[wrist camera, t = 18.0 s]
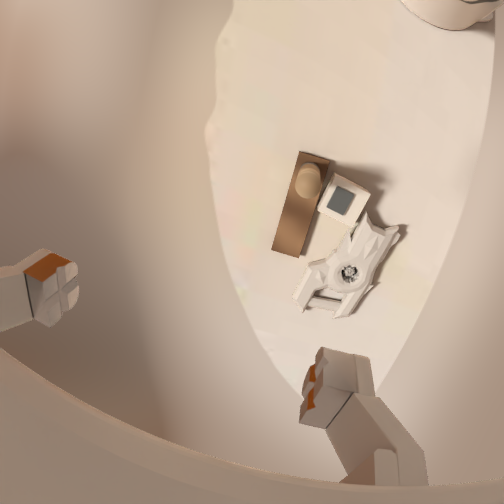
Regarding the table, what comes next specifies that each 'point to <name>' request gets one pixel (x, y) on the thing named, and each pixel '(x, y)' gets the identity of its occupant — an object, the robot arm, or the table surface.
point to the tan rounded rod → (308, 180)
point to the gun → (346, 269)
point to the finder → (343, 200)
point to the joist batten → (297, 211)
